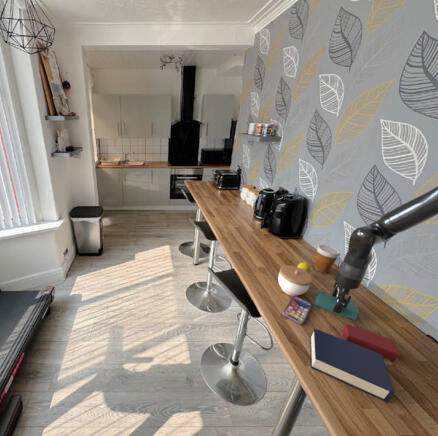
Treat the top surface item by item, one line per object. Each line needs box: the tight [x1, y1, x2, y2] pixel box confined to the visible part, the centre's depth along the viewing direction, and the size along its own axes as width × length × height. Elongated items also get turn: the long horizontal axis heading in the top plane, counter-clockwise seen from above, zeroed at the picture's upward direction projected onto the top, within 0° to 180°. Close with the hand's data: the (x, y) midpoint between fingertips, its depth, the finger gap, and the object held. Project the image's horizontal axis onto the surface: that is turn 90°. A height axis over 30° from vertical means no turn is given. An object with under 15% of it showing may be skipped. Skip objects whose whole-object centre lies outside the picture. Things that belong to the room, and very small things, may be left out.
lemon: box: [296, 261, 311, 274], centre depth 114 cm, size 6×6×8 cm
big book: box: [309, 327, 396, 403], centre depth 73 cm, size 18×13×4 cm
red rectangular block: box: [342, 323, 401, 362], centre depth 80 cm, size 13×6×4 cm, turn 59°
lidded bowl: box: [277, 265, 314, 297], centre depth 103 cm, size 13×13×11 cm
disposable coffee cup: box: [313, 244, 341, 274], centre depth 119 cm, size 10×10×12 cm
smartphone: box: [282, 295, 313, 325], centre depth 95 cm, size 1×7×15 cm
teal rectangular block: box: [315, 291, 360, 321], centre depth 96 cm, size 13×6×4 cm, turn 59°
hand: (335, 305), depth 96 cm, fingers open, 8 cm apart
